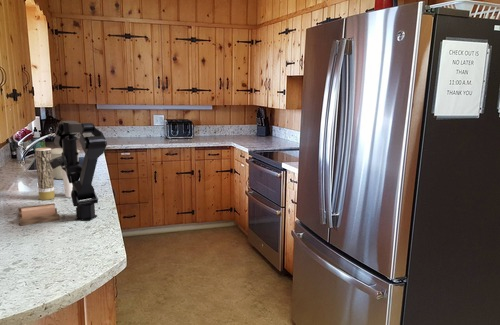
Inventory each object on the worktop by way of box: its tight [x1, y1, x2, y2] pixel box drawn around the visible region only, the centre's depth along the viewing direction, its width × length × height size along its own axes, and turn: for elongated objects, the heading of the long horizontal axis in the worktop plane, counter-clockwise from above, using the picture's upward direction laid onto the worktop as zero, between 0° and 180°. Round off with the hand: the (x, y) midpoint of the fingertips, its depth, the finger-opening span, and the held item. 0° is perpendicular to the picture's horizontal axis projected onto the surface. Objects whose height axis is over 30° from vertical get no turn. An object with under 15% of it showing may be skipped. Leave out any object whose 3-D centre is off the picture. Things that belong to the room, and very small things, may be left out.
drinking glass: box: [62, 169, 73, 199], centre depth 194 cm, size 7×7×15 cm
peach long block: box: [21, 205, 56, 219], centre depth 159 cm, size 12×4×4 cm, turn 122°
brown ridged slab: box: [17, 203, 60, 227], centre depth 163 cm, size 14×18×2 cm
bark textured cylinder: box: [34, 147, 55, 201], centre depth 188 cm, size 7×7×25 cm
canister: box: [51, 147, 81, 180], centre depth 234 cm, size 18×18×21 cm
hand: (72, 185), depth 169 cm, fingers open, 9 cm apart
